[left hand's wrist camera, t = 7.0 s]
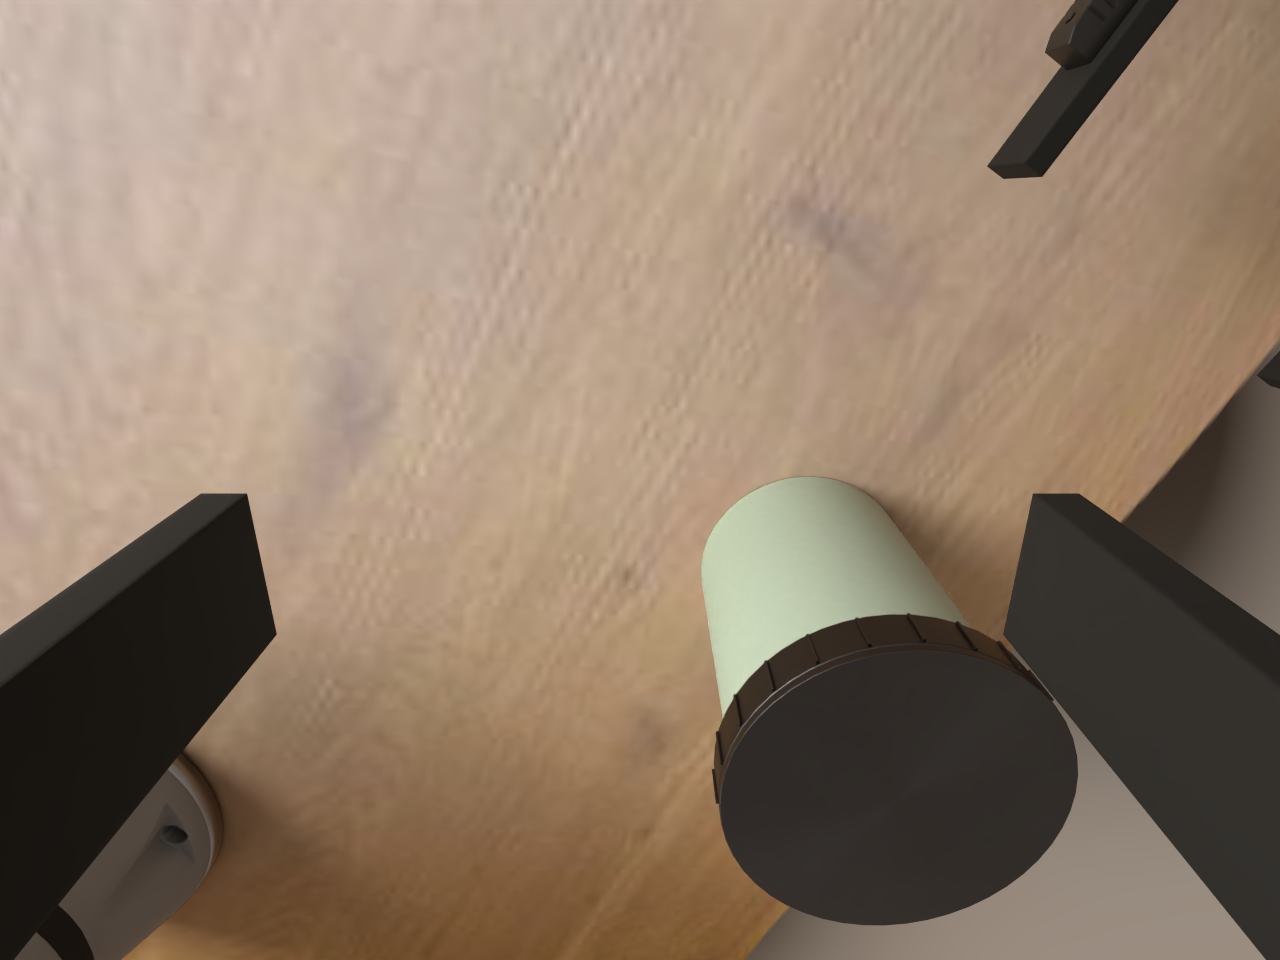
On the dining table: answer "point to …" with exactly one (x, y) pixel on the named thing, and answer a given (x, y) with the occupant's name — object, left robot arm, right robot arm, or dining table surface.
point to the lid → (891, 770)
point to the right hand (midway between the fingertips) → (1158, 286)
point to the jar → (805, 572)
